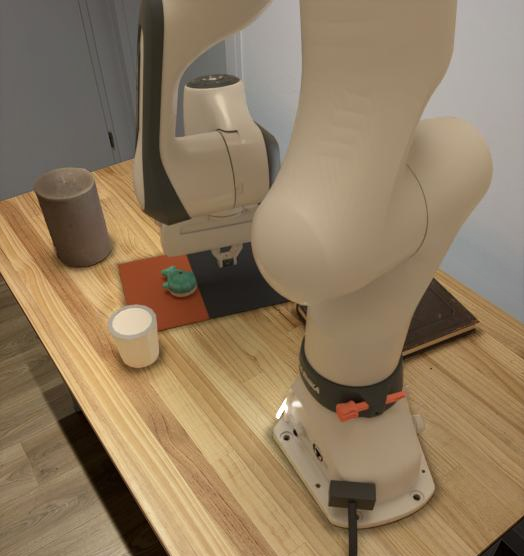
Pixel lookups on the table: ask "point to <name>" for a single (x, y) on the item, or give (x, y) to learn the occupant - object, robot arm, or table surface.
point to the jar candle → (135, 335)
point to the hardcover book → (431, 320)
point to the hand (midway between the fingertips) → (227, 264)
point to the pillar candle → (73, 216)
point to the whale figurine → (179, 281)
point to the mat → (198, 287)
